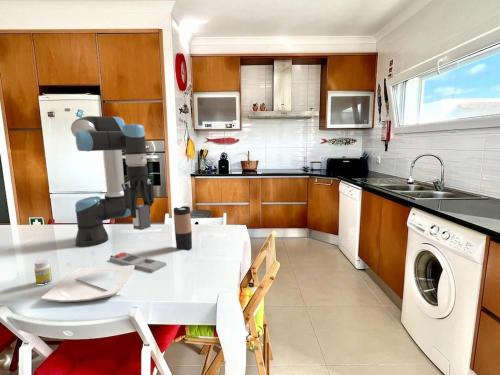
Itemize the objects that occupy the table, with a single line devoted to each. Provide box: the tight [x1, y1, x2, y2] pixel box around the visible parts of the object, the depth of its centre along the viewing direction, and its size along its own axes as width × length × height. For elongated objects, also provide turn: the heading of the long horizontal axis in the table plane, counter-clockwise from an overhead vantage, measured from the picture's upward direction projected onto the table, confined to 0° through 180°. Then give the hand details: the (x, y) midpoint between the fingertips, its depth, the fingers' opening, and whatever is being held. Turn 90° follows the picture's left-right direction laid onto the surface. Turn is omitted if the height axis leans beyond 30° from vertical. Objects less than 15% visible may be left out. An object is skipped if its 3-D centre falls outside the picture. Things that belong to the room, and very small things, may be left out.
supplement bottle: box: [34, 258, 53, 285], centre depth 104 cm, size 5×5×8 cm
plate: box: [40, 265, 135, 303], centre depth 101 cm, size 24×24×3 cm
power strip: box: [109, 252, 167, 273], centre depth 118 cm, size 30×7×3 cm, turn 61°
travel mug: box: [173, 205, 193, 251], centre depth 134 cm, size 8×8×20 cm
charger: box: [132, 203, 152, 231], centre depth 112 cm, size 4×4×9 cm
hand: (141, 223), depth 112 cm, fingers closed on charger, 4 cm apart
